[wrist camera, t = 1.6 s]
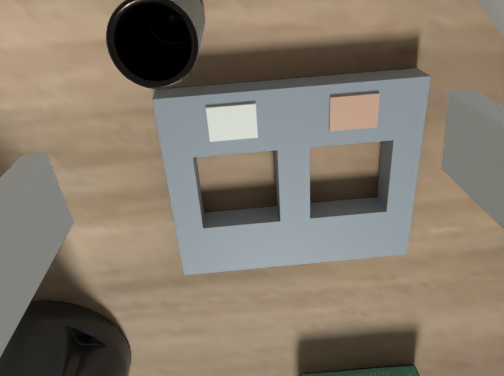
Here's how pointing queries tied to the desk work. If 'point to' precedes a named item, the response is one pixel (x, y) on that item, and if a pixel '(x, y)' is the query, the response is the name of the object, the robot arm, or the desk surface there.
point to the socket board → (293, 166)
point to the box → (373, 372)
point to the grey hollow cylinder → (155, 40)
